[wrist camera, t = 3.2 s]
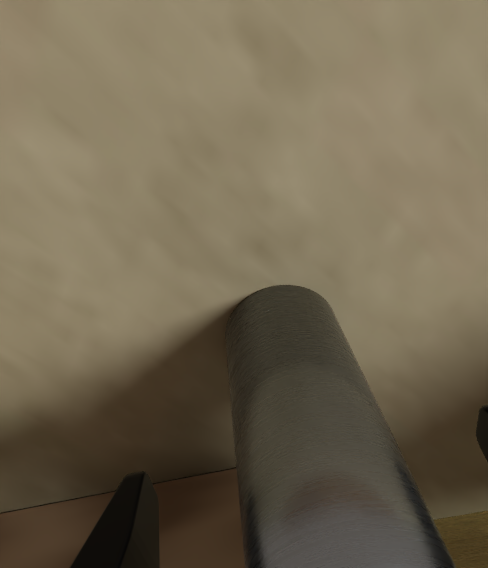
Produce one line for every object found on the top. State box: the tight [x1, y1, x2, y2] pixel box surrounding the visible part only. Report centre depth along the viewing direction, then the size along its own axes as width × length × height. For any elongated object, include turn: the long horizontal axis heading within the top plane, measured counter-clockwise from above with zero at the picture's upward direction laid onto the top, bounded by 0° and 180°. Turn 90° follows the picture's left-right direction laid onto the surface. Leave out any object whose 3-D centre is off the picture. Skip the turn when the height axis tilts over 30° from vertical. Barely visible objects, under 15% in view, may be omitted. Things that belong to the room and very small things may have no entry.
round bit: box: [225, 285, 456, 568], centre depth 8 cm, size 3×3×10 cm
